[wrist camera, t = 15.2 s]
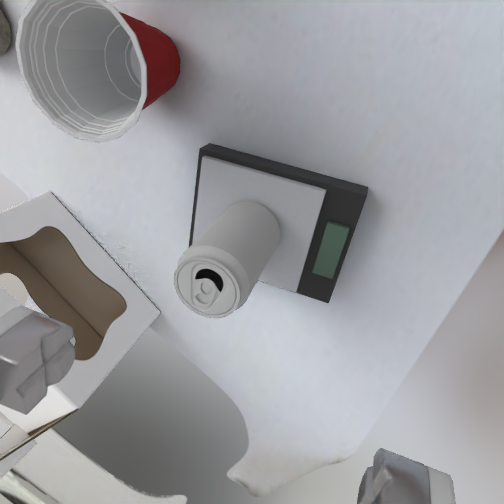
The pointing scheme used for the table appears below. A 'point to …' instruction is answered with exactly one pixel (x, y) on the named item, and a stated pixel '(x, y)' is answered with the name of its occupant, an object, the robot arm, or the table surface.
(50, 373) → the robot arm
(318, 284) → the kitchen scale
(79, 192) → the table surface
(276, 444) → the table surface
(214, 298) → the beverage can
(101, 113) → the plastic cup
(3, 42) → the long grey stone
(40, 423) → the gable box
